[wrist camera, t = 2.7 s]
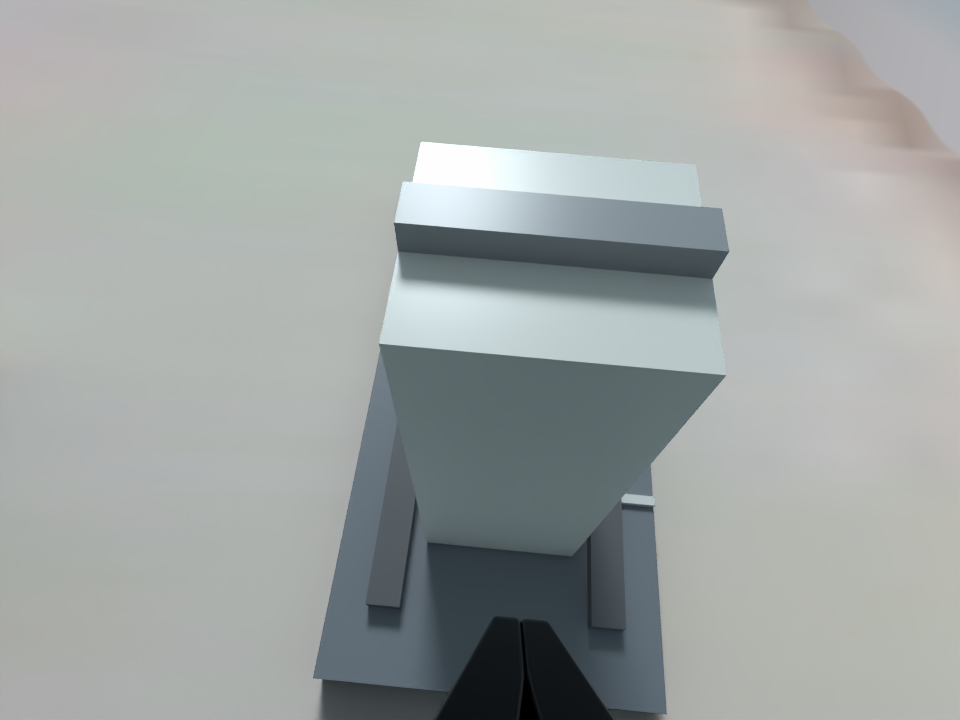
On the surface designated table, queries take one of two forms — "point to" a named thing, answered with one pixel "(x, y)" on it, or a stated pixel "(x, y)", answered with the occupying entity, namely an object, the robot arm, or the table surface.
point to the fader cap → (545, 336)
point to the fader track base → (483, 587)
